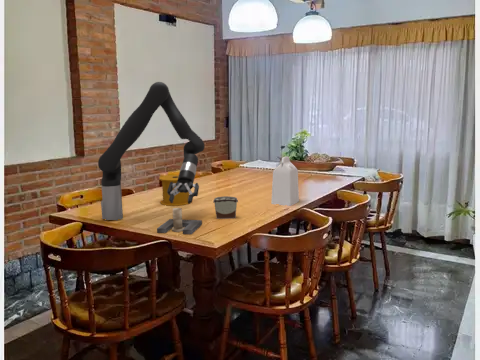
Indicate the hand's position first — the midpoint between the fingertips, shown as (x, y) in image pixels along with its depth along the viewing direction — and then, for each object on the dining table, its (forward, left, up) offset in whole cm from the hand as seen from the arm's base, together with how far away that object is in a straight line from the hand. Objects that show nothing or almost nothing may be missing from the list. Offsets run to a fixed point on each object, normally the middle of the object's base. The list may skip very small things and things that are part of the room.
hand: (179, 202), depth 203 cm
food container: (+16, +22, -12) cm, 30 cm away
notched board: (0, -1, -12) cm, 12 cm away
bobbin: (0, -4, -12) cm, 13 cm away
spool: (-20, +49, -12) cm, 54 cm away
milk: (+42, +57, -12) cm, 72 cm away
